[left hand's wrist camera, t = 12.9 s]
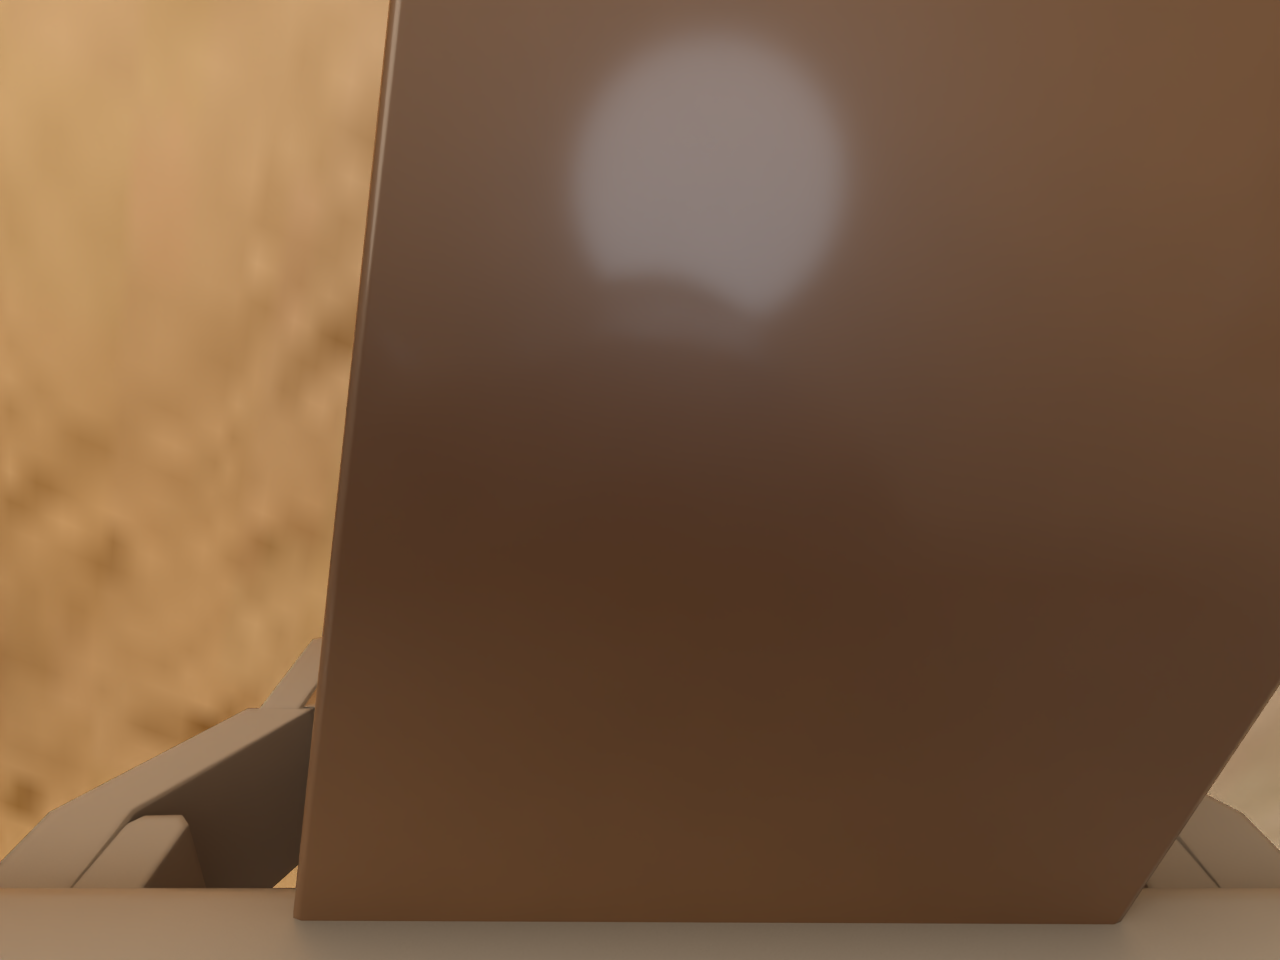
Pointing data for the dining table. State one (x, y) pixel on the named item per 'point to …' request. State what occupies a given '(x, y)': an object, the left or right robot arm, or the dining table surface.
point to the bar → (800, 460)
